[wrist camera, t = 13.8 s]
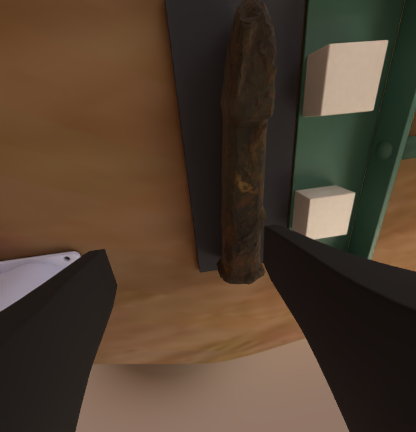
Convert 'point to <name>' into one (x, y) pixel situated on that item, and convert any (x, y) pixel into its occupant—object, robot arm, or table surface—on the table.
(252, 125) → the dark brown rough bar
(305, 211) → the beige square block
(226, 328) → the table surface
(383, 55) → the beige rectangular prism
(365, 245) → the dustpan
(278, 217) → the desk mat
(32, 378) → the robot arm
